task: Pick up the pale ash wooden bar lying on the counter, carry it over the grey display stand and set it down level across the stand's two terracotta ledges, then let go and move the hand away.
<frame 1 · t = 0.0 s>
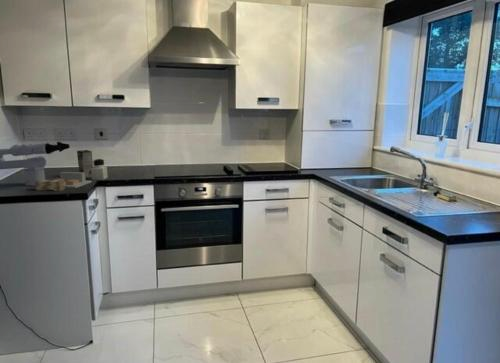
hand: (64, 146, 203), 22 cm above the table, tool horizontal, fingers open, 7 cm apart
coffee box: (86, 176, 235), on the table
medicine bottle: (99, 179, 225), on the table
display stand: (65, 185, 207), on the table
ash bar: (50, 190, 197), on the table
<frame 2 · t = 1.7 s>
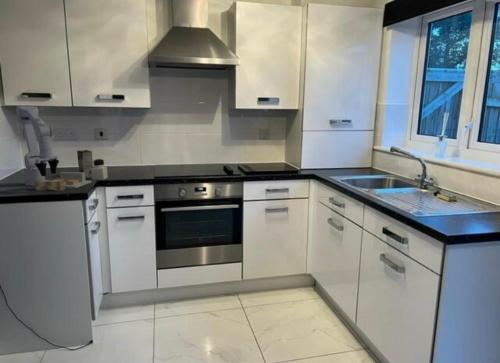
hand: (48, 174, 195), 8 cm above the table, tool pointing down, fingers open, 7 cm apart
nothing on the table moved.
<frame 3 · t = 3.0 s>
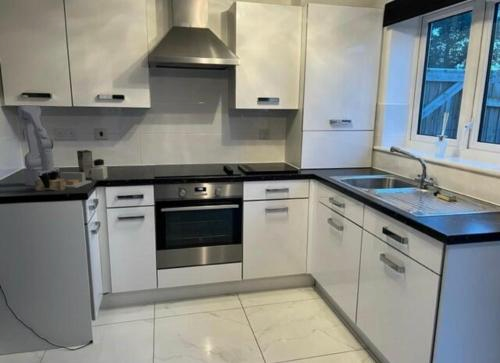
hand: (50, 186, 196), 2 cm above the table, tool pointing down, fingers closed on ash bar, 4 cm apart
ash bar: (50, 189, 197), on the table, touching gripper
everything else where it was.
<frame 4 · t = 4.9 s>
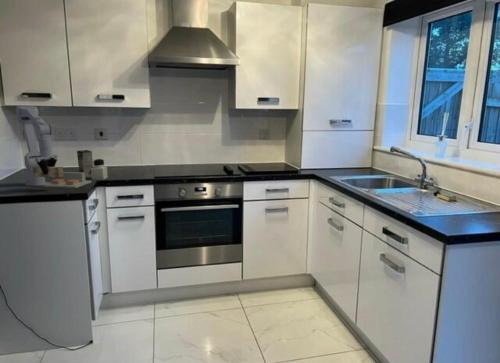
hand: (48, 173, 195), 9 cm above the table, tool pointing down, fingers closed on ash bar, 4 cm apart
ash bar: (48, 176, 195), point 7 cm above the table, touching gripper
everything else where it was.
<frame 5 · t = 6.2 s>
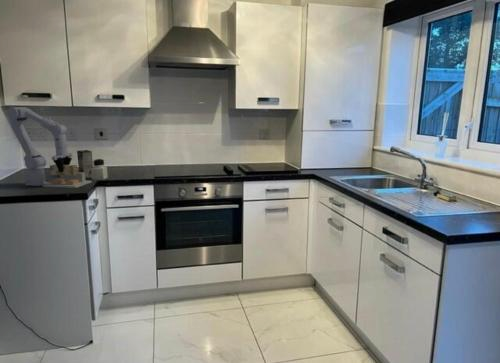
hand: (63, 171, 206), 8 cm above the table, tool pointing down, fingers closed on ash bar, 4 cm apart
ash bar: (64, 174, 206), point 6 cm above the table, touching gripper
everything else where it was.
when the fingers open (6 cm above the table, at t = 7.0 s): ash bar drops 1 cm, resting on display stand.
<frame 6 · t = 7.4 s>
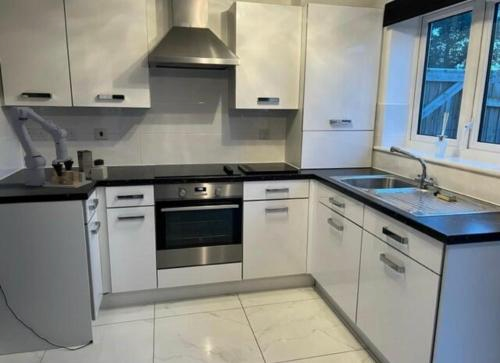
hand: (64, 175, 206), 6 cm above the table, tool pointing down, fingers open, 7 cm apart
ash bar: (65, 180, 207), point 3 cm above the table, touching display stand
everything else where it was.
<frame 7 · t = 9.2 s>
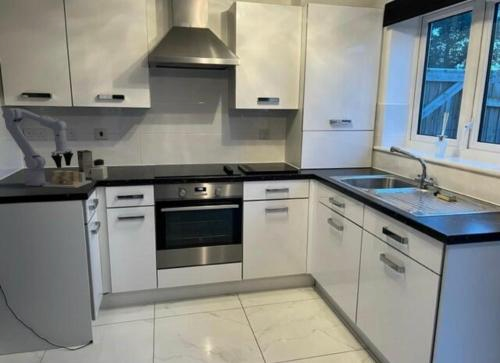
hand: (63, 166, 208), 10 cm above the table, tool pointing down, fingers open, 7 cm apart
nothing on the table moved.
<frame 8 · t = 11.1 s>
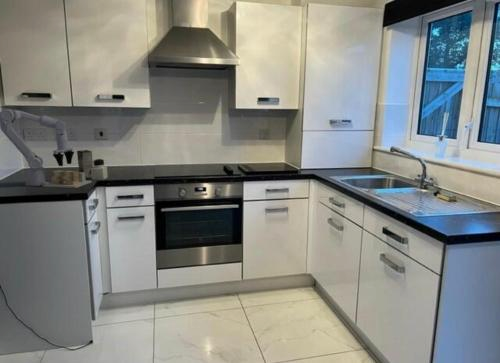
hand: (65, 164, 214), 10 cm above the table, tool pointing down, fingers open, 7 cm apart
nothing on the table moved.
at the end: ash bar 0.1 cm off-centre on the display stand, point 3.0 cm above the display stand's base; ash bar tilted 0°; the gripper is holding nothing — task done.
